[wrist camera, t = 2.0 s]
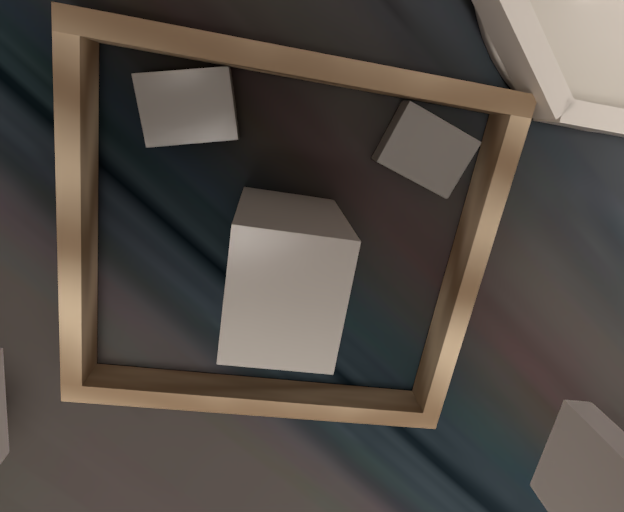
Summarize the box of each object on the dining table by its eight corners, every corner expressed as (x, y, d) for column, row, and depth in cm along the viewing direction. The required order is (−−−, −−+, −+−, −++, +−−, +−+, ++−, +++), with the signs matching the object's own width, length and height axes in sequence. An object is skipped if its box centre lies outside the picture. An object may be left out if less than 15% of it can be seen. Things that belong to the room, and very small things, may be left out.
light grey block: (142, 76, 19) (131, 73, 18) (231, 69, 20) (228, 66, 18) (155, 144, 20) (146, 147, 19) (240, 137, 21) (237, 139, 19)
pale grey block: (243, 186, 21) (231, 224, 15) (333, 199, 22) (361, 241, 15) (232, 289, 23) (216, 364, 16) (315, 298, 23) (333, 374, 17)
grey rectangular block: (400, 100, 21) (410, 100, 19) (467, 139, 22) (481, 142, 20) (369, 157, 21) (376, 162, 20) (435, 192, 22) (447, 199, 21)
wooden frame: (74, 12, 18) (51, 1, 16) (514, 95, 21) (538, 95, 19) (77, 377, 24) (61, 401, 22) (423, 405, 26) (435, 428, 24)
